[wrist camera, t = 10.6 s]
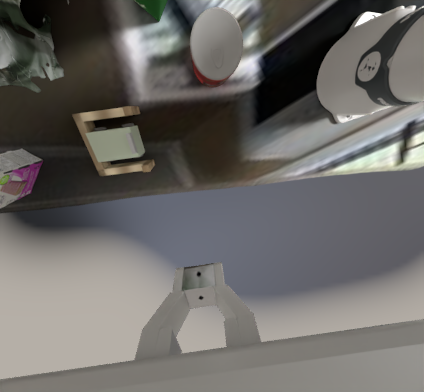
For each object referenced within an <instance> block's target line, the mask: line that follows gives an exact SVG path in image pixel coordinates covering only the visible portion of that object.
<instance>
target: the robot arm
mask: <svg viewBox="0 0 424 392" xmlns="http://www.w3.org/2000/svg"><path fill="white" fill-rule="evenodd" d="M415 8H416V6H409V7H406V8H405V9H404V6H401V7H397V8H395V9H393V10H391V11H388V12H386V13H384V14H380V13H373V12H365V13H363V14H361V15H359V16H358V17H357V18H356V20H355V21H354V23H353V24H352V26H351V27H350V29H349V31H348V32H347V33H346V34H345V35H344V36H343V37H342V38H341V39H339V40H338V41H337V42H336V43H335V44H334V45H333V46H332V48H331V49H330V50H329V52H328V53H327V55H326V56H325V58H324V60H323V62H322V64H321V67H320V69H319V73H318V77H317V94H318V98H319V100H320V102H321V104H322V105H323V106H324V107H325V108H326V109H327V110H329V111H330V112H331V113H332V114H333V117H334V119H335V121H336V122H337V123H344V122H347V121H350V120H353V119H356V118H359V117H362V116H365V115H371V114H373V113H374V112H377V111H380V110H383V109H386V108H389V107H392V106H393V107H396V106H405V105H412V104H416V103H419V102H424V6H423V7H421V8H419V9H417V10H415ZM347 115H348V116H347ZM346 116H347V117H346ZM213 305H217V307H218V308H219V310H220V311H221V313H222V314H223V316H224V317H225V321H224V326H225V336H226V346H227V347H224V348H218V349H210V350H203V351H197V352H189V353H182V354H181V352H182V350H181V348H180V346H179V344H178V341H177V339H176V336H177V334H178V332H179V330H180V328H181V326H182V324H183V322H184V321H185V319H186V317H187V315H188V313H189V311H190V309H193V308H198V307H204V306H213ZM0 392H424V319H421V320H415V321H408V322H401V323H393V324H386V325H380V326H372V327H365V328H358V329H351V330H344V331H337V332H330V333H323V334H316V335H310V336H302V337H296V338H288V339H281V340H274V341H267V342H261V340H260V336H259V333H258V329H257V325H256V321H255V317H254V314H253V313H252V312H251V311H250V310H249V308H248V307H247V306H246V305H245V304H244V303H243V302H242V301H241V300H240V298H239V297H238V296H237V295H236V294H235V293H234V292H233V291H232V290H231V288H230V287H229V286H228V285H225V282H224V275H223V269H222V263H221V262H220V263H211V264H205V265H199V266H191V267H183V268H177V269H176V272H175V278H174V285H173V292H172V293H170V294H169V295H168V297H167V298H166V299H165V300H164V302H163V303H162V304H161V306H160V307H159V308H158V310H157V311H156V312H155V314H154V315H153V316H152V318H151V319H150V320H149V322H148V323H147V324H146V326H145V327H144V328H143V330H142V333H141V337H140V341H139V345H138V348H137V352H136V357H135V360H133V361H126V362H120V363H112V364H105V365H98V366H91V367H85V368H77V369H70V370H63V371H57V372H49V373H42V374H35V375H28V376H21V377H14V378H7V379H1V380H0Z"/></svg>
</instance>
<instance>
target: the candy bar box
mask: <svg viewBox="0 0 424 392" xmlns="http://www.w3.org/2000/svg"><path fill="white" fill-rule="evenodd" d="M42 163H43V160H42V159H40V158H39V157H37V156H35V155H33V154H31V153H29V152H27V151H26V150H24V149H22V148H20V149H16V150H11V151H7V152H3V153H0V209H1V208H3V207H5V206H6V205H8V204H10V203H12V202H14V201H16V200H18V199H20V198H22V197H24V196H26V195H28V194H30V193H31V191H32V189H33V186H34V183H35V181H36V178H37V176H38V173H39V170H40V168H41V165H42Z"/></svg>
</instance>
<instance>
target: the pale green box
mask: <svg viewBox="0 0 424 392" xmlns="http://www.w3.org/2000/svg"><path fill="white" fill-rule="evenodd" d="M85 134H86V136H87V138H88V140H89V143H90V145H91V147H92V149H93V152H94V154H95V156H96V158H97V161H98V162H105V161H107V162H111V161H116V160H120V159H127V158H139V157H143V154H144V153H145V149H144V146H143V143H142V140H141V136H140V133H139V130H138V126H137V125H136V126H134V124H133V123H129V124H122V128H114V129H107V128H106V127H100V128H94V132H89V133H85Z"/></svg>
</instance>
